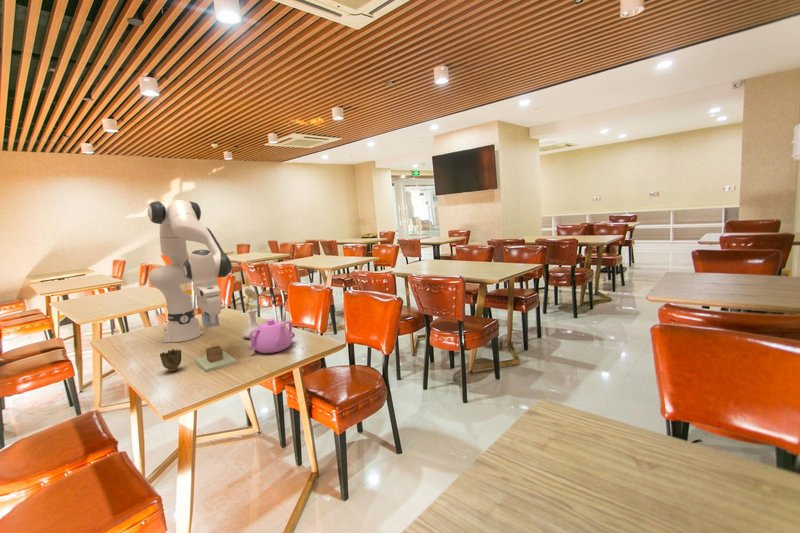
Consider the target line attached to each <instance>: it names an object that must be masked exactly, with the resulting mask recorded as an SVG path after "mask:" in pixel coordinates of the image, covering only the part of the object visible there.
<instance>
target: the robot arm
mask: <svg viewBox="0 0 800 533" xmlns="http://www.w3.org/2000/svg"><path fill="white" fill-rule="evenodd" d="M147 216H148V219H149V220H150V221H151V223H153V224H158V225H159V242H160V243H159V244H160V252H161V254H162V255H164V256H166V257H168V258H169V260H170V262H171V264H167V265H161V266H158V267H156V268H153V269H152V270H150V271H149V273H148V281H149V284H150V285H151V286H152V287H154V288H156V289H157V290H159V291H160V292H161V293H162V296H163V297H164V298H165V303H166V307H167V312H168V313H167V320H168V321H167V324H166V326H164V327H163V331H164V335H163V343H181V342H185V341H190V340H194V339H196V338H198V337H200V336H201V335H204V334H205V331H204V330H201V325H200V320H199V318H197V317H195V316H196V314H195V313H196V312H195V309H194V307H193V301H192V300H193V299H192V295H191V294H190V293H189V292H186V291H184V290H183V288H182V285H184V284H189V283H191V282H193V283H192V284H193V291H194V292H193V293H194V295H195V296H196V299H197V300H196V301H197V308H198V309H200V310H202V311H203V314H205V313H208V314H209V316H210V323H211V324H213V323H215V322H216V321H215V317H216V314H218V315H219V314H220V315H221V312H222V306H221V296H220V295H222V290H221V289H220V287H219V284H218V279H217V278H226V277H227V276H228V275H229V274H230V273H231V271H232V270H233V269H232V268H233V266H232V262H231V260H230V257H228V255H227V254H226V253H225V251H224V250H223V249H222V246H221V245H220V243H219V241H218V240H217V239H216V237H215V235H214V233H213V232H212V231H211V229H210V228H208V227H206V226H205V225H203V224H202V223H201V222H200V220H201V216H202V210H201V207H200V205H199V204H198V202H194V201H186V200H184V199H175V200H166V201H158V200H157V201H152V202H150V203H149V204H148V208H147ZM187 241H189V242H194V243H199V244H203V245H205V246H206V247H207V248H208V249H196V250H193V251H191V253H190V254H189V252H188V249H187V247H188V246H187Z"/></svg>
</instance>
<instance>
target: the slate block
mask: <svg viewBox="0 0 800 533" xmlns="http://www.w3.org/2000/svg"><path fill="white" fill-rule="evenodd" d="M219 320H220V319H219V314H216V317H215V321H216V322H215V323H213V324H211V323H210V316H209V314H208V313H205V314H204V313H201V321H202V326H203V327H204V328H205V329H209V328H212V327H217V326H220V321H219Z"/></svg>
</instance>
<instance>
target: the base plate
mask: <svg viewBox="0 0 800 533" xmlns="http://www.w3.org/2000/svg"><path fill="white" fill-rule="evenodd" d="M222 353H223V360H219V361H216V362H212V363H210V362H209V361H208V360H207V355H204V356H202V357H197V358H194V362H195V364H197V365H198V366H199V367H200V368H201V369H202V370H203V371H204V372H205V373H209V372H211V371H215V370H218V369H221V368H224V367H228V366H231V365H235V364H237V363H238V362H237V359H236V358H235V357H233V356H232V355H230V354H229V353H228V352H226V351H225V350H222Z"/></svg>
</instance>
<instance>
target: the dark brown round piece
mask: <svg viewBox="0 0 800 533" xmlns="http://www.w3.org/2000/svg"><path fill="white" fill-rule="evenodd" d="M159 357H160V360H161V364H162V366H163V367H164V368H165V369H167V372H168V373H174V372H178V370H179V366H180V365H181V363H182V349H180V348H179V349H171V350H170V349H168V350H167V352H165V351H163V352H160V354H159Z"/></svg>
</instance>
